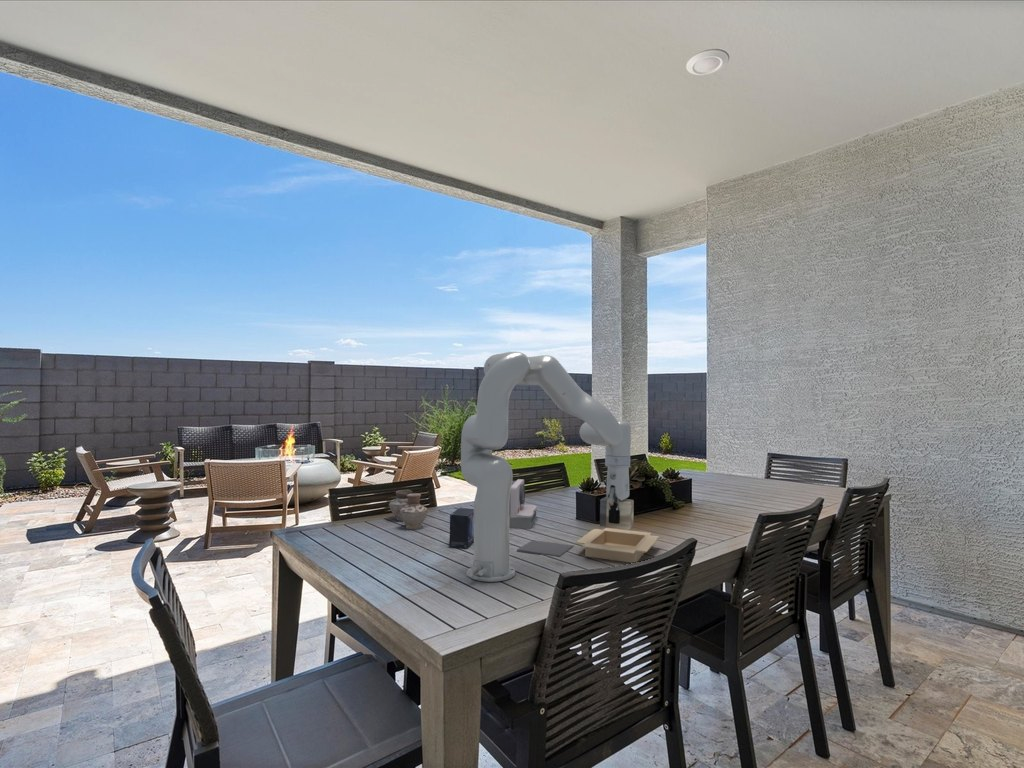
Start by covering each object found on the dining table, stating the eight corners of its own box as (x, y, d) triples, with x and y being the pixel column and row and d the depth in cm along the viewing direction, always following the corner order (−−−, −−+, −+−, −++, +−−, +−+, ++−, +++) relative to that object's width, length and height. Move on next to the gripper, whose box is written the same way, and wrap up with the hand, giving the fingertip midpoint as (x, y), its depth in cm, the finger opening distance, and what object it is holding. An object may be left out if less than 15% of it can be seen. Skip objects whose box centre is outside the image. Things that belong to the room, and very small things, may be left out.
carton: (644, 568, 148) (644, 554, 148) (572, 558, 157) (572, 544, 157) (660, 546, 169) (660, 534, 169) (596, 538, 179) (596, 526, 179)
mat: (559, 557, 158) (559, 555, 158) (516, 551, 164) (516, 549, 164) (573, 547, 168) (573, 545, 168) (532, 541, 175) (532, 540, 175)
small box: (468, 549, 166) (468, 515, 167) (448, 548, 168) (448, 514, 168) (477, 540, 177) (477, 508, 177) (458, 539, 178) (458, 507, 178)
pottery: (402, 532, 186) (402, 498, 187) (386, 517, 209) (386, 487, 209) (433, 529, 191) (433, 495, 192) (414, 515, 214) (414, 485, 214)
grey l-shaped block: (528, 531, 189) (528, 488, 189) (474, 526, 195) (474, 485, 196) (544, 518, 209) (544, 479, 209) (494, 514, 215) (494, 477, 216)
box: (629, 529, 159) (629, 502, 159) (599, 526, 163) (600, 499, 163) (633, 526, 163) (633, 500, 164) (604, 522, 167) (604, 497, 168)
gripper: (622, 465, 154) (621, 528, 154) (636, 459, 170) (635, 517, 169) (597, 463, 158) (596, 525, 157) (613, 458, 173) (612, 515, 172)
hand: (616, 520), depth 163 cm, fingers closed on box, 5 cm apart
